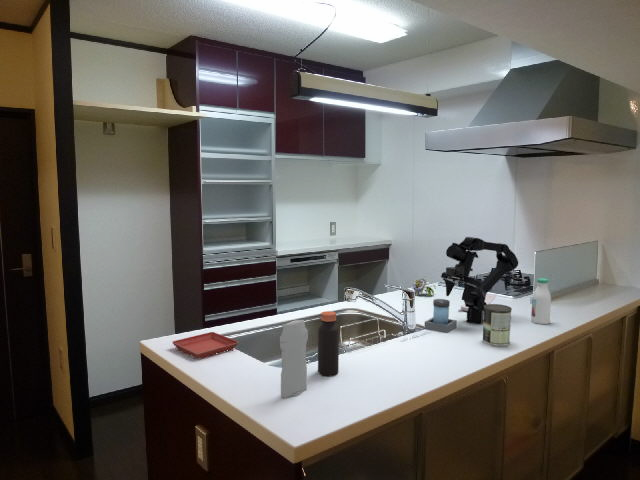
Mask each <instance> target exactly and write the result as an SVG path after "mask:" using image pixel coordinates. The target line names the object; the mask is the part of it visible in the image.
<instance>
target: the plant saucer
mask: <svg viewBox="0 0 640 480" xmlns="http://www.w3.org/2000/svg"><path fill="white" fill-rule="evenodd" d="M172 344H173V345H174V346H175V348H176V349H178V350H179V351H181V352H184V353H186V354H187V355H189V356H191V355H192V356H191V357H193V356H194V357H193V358H195V357H196V358H195V359H199V358H201V359H204V358H208V357H210V355H211V356H214V355H213V354H215V355H217V354H216V353H218V354H221V353H220V352H222V353H225V352H228V351H227V350H229V351H232V350H233V349H235V347H236V346H237V345H238V344H239V341H237V340H234V339H232V338H229V337H227V336H224V335H223V334H219V333H218V332H215V331H209V332H205V333H202V334H197V335H192V336H189V337H184V338H180V339H177V340H172ZM231 349H232V350H231ZM224 351H225V352H224ZM207 356H208V357H207ZM203 357H204V358H203ZM199 360H200V359H199Z"/></svg>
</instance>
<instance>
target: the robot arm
mask: <svg viewBox="0 0 640 480" xmlns="http://www.w3.org/2000/svg"><path fill="white" fill-rule="evenodd" d="M484 250H486V251H494V252H496V254H495V256H496V260H497V261H496V264H495V268H493V270H492V271H491V272H490V273H488V275H486V277H485V278H484V279H483V280H482V281H481V280H479V279H477V278H474V277H471V276H470V275H471V274H470V273H471V272H473V271H474V270H473V268H472V266H473V263H474V260H475V258H476V259H479V255H478V253H477V252H479V251H480V252H482V251H484ZM445 253H446V254H445V255H446V257H448V258H450V259H452V260H455V261H456V262H458V263H456V264H455V266H450V267H449V266H448V267H445V271H443V272H441V275H440V278H442V280H443V281H444V283H445V295H446V297H449V296H450V295H451V293H452V291H453V289H454V287H455V285H456V282H461V283H462V282H463V286H464V287H463V291H462V296H461V300H462V301H463V302H464V305H465V306H466V307H469V308H468V311H466V322H468V323H473V324H483V321H484V305H487V304H486V302H485V298H486V294H488V293H489V292H490V290H491V289H492V288H493V287H494V286H496V284H497V283H498V282H499V281H500V280H501V279H502V278H503V277H504V276H505V275H506V274H508V273H511V272H513V271H514V270H515V269H517V267H518V265H519V260H518V258H517V256H516V254H515V253H514V252H513V251H512V250H511V249H510V247H509V245H508V244H506V243H501V242H498V243H497V242H496V243H495V242H489V241H486V240H483V239H482V238H478V237H474V236H472V237H471V236H465V237H464V239H463V240H462V241H461V242H459V243H457V242H452V243H451V245H449V246H448V247H447V249H446V252H445Z"/></svg>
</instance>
